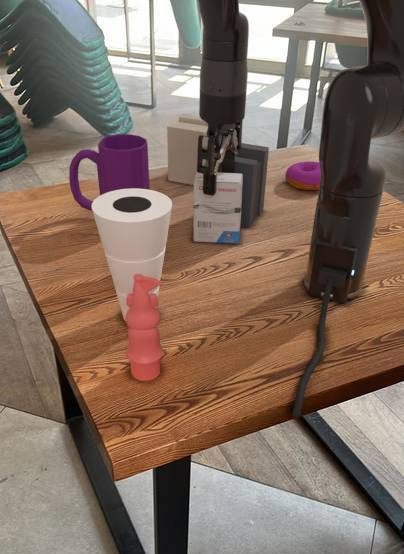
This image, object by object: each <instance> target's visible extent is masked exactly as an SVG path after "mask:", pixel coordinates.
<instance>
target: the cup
mask: <svg viewBox="0 0 404 554" xmlns="http://www.w3.org/2000/svg"><path fill="white" fill-rule="evenodd" d="M92 201H93V203H92V211H91V212H92V214H93V217H94V221H95V224H96V228H97V231H98V234H99V239H100V242H101V246H102V247H103V252H104V255H105V259H106V262H107V265H108V266H107V267H108V269H109V273H110V276H111V278H112V283H113V285H114V290H115V293H116V296H117V300H118V303H119V307H120V310H121V314H122V317H123V320H124V321H125V322H126V320H125V316H126V313H127V311H128V310H129V309H130V308H129V307H128V306H127V304H126V298H127V295H128V294H130V293H133V285H134V281H135V280H134V279H133V278H134V275H135V274H141V275H143V276H145V277H151V278H155V279H157V280H159V281H161V280H162V279H161V278H162V273H163V266H164V260H165V255H166V248H167V247H166V245H167V243H168V235H169V229H170V222H171V216H172V210H173V209H172V208H173V201H172V199H171V198H170V197H169V196H167V195H166V194H164V193H162V192H161V191H160V192H159V191H156V190H153V189H150V190H148V189H137V188H131V189H120V190H115V191H111V192H107V193H105V194H102V195H101V196H100V195H98V196H97V197H96V198H95V199H94V200H92ZM160 287H161V286H157V287H156V288H154V289H152V290H150V291H149V292H148V293H149V294H152V293H154V294H156V295H157V298H159V294H160V293H159V292H160ZM155 308H156V309H157V307H155Z"/></svg>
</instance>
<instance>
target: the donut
mask: <svg viewBox="0 0 404 554" xmlns="http://www.w3.org/2000/svg"><path fill="white" fill-rule="evenodd" d="M284 178H285V179H284V180H286V182H287V183H288V185H290V186H291V187H293V188H295V189H297V190H302V191H303V190H304V191H305V190H306V191H316V190H317V191H319V185H320V178H321V170H320V165H319V161H314V160H313V161H307V160H306V161H299V162H295V163H292V164H291V165H289V166H288V167H287V169H286V171H285V176H284Z"/></svg>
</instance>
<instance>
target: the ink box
mask: <svg viewBox="0 0 404 554" xmlns="http://www.w3.org/2000/svg"><path fill="white" fill-rule="evenodd" d="M242 180H243V174H237V173H219V172H217V183H216V194H215V195H213V196H211V195H206V194H204V193H203V174H202V173H198V172H197V173H196V175H195V179H194V185H193V214H192V215H193V229H192V230H193V231H192V232H193V237H192V239H193V242H195V243H196V242H198V243H215V244H233V245H234V244H236V245H238V244H239V243H240V236H241V235H240V234H241V226H240V221H241V203H242Z"/></svg>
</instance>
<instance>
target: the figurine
mask: <svg viewBox="0 0 404 554" xmlns="http://www.w3.org/2000/svg"><path fill="white" fill-rule="evenodd" d="M133 279H134V280H135V281H134V285H133V293H130V294H128V295H127V298H126V304H127V306H128V307H129V308H130V309H129V310H128V311H127V313H126V316H125V320H126V321H125V320H124V321H125V323H126V325H127V327H128V329H127V341H128V345H127V347H126V350H125V356H126V358H127V359H128V360H129V361H130V373H131V376H132V378H134V379H136V380H138V381H142V382H148V381H152V380H154V379H156V378H158V376H159V375H160V373H161V359H162V357H163V355H164V348H163V346H162V345H161V340H160V339H161V338H160V332H159V329H158V326H159V324H160V321H161V313H160V311H159V310H158V309H157V307H158V305H159V299H158V298H159V297H158V298H157V295H156V294H154V293H152V294H149V293H148V292H149V291H150V290H152V289H154V288H156V287H157V286H160V287H161V286H163V284H164V283H163V282H162V281H161V280H160V281H159V280H157V279H155V278H151V277H145V276H143V275H141V274H135V275H134V278H133ZM155 307H156V308H155Z"/></svg>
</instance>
